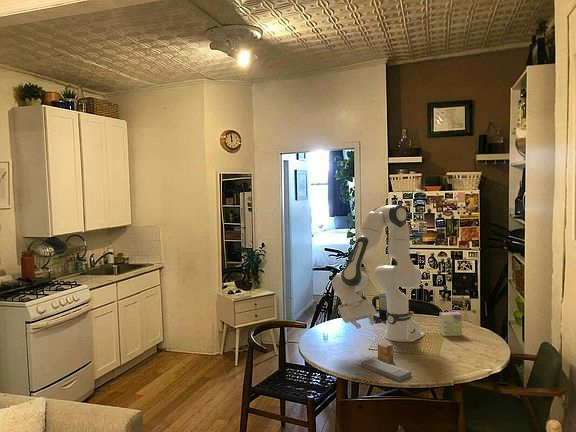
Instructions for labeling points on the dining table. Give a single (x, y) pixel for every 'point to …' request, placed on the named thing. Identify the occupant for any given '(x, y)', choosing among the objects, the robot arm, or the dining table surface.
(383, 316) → the milk frother
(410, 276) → the robot arm
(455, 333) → the box
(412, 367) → the dining table surface
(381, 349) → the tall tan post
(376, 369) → the board
